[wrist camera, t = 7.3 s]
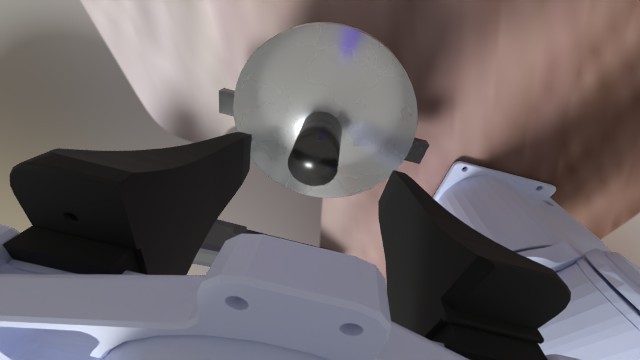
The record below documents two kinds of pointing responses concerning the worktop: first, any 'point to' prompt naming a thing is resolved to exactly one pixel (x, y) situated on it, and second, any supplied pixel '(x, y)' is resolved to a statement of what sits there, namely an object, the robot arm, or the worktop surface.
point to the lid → (326, 109)
